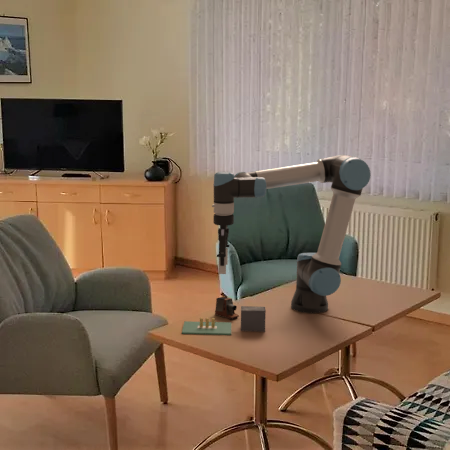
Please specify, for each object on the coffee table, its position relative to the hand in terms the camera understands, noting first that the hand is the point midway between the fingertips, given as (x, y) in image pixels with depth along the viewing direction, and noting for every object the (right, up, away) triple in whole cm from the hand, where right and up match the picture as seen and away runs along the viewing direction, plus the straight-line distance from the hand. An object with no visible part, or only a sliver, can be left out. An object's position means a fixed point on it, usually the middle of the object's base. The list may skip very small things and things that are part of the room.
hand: (223, 269), depth 257 cm
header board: (-6, -22, -3) cm, 23 cm away
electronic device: (+1, -20, +11) cm, 23 cm away
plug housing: (+11, -22, -2) cm, 25 cm away
